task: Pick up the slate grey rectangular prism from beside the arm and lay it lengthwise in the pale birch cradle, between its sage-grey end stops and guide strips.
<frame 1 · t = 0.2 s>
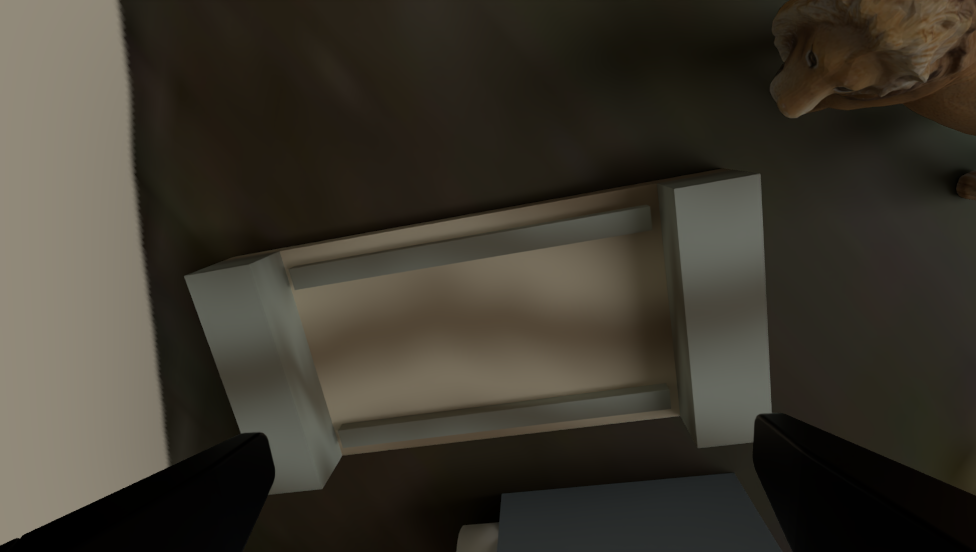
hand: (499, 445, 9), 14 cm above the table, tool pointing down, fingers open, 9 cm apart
cradle: (484, 326, 23), on the table
lion figurine: (859, 107, 20), on the table
slate grey rectangular prism: (618, 516, 26), on the table
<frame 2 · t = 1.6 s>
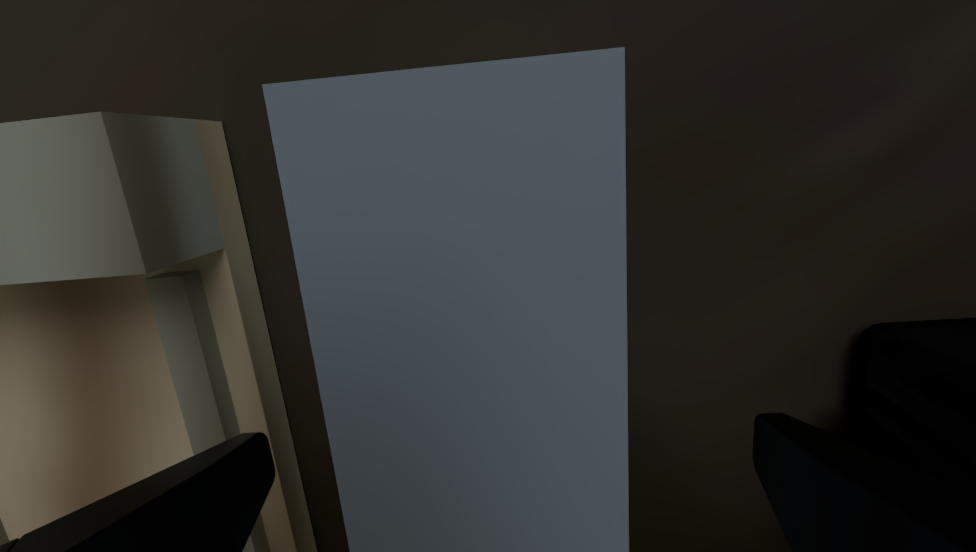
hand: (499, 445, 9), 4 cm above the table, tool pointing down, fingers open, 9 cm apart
cradle: (144, 514, 15), on the table
slate grey rectangular prism: (501, 339, 13), on the table
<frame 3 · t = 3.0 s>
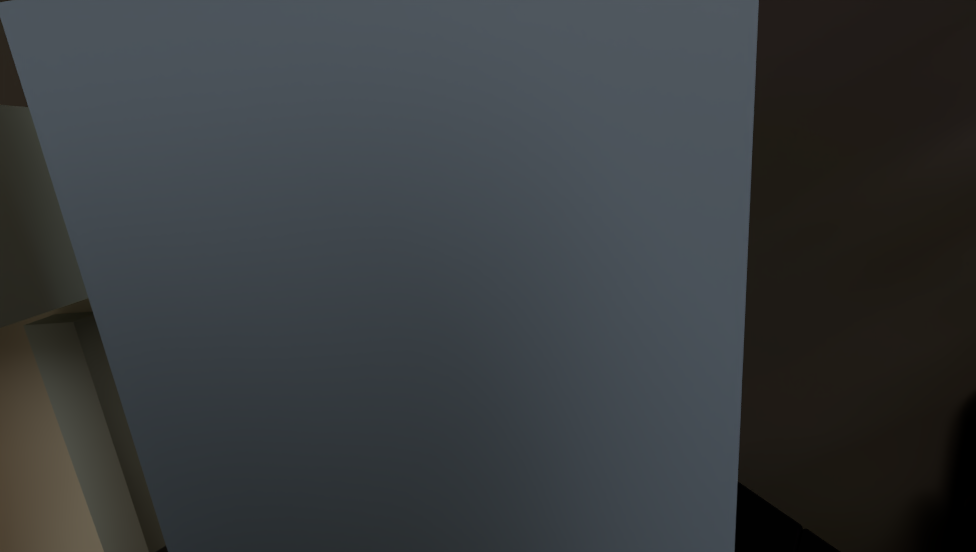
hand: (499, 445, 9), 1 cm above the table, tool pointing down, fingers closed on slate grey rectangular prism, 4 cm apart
slate grey rectangular prism: (501, 394, 10), on the table, touching gripper
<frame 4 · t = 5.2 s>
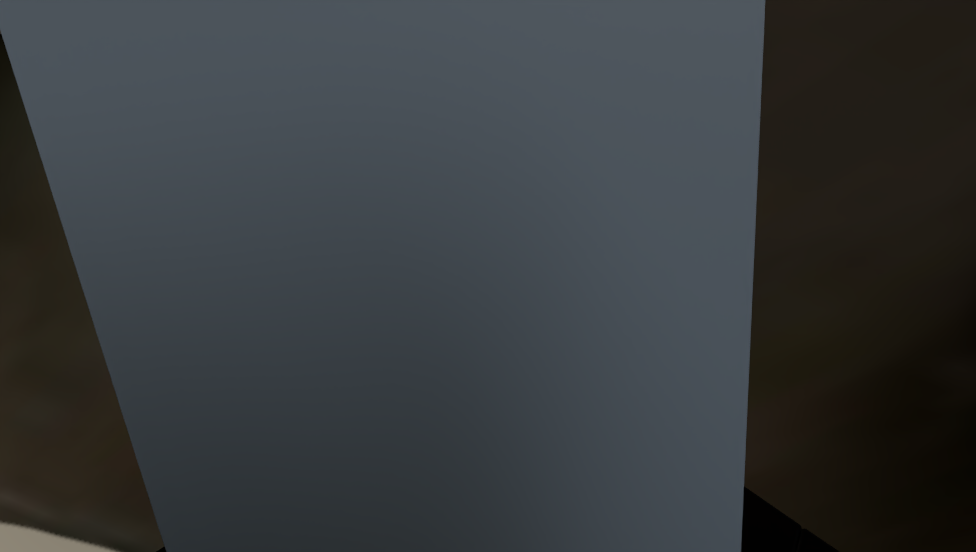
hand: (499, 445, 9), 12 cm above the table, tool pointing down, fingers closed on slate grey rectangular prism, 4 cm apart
slate grey rectangular prism: (503, 393, 10), point 10 cm above the table, touching gripper
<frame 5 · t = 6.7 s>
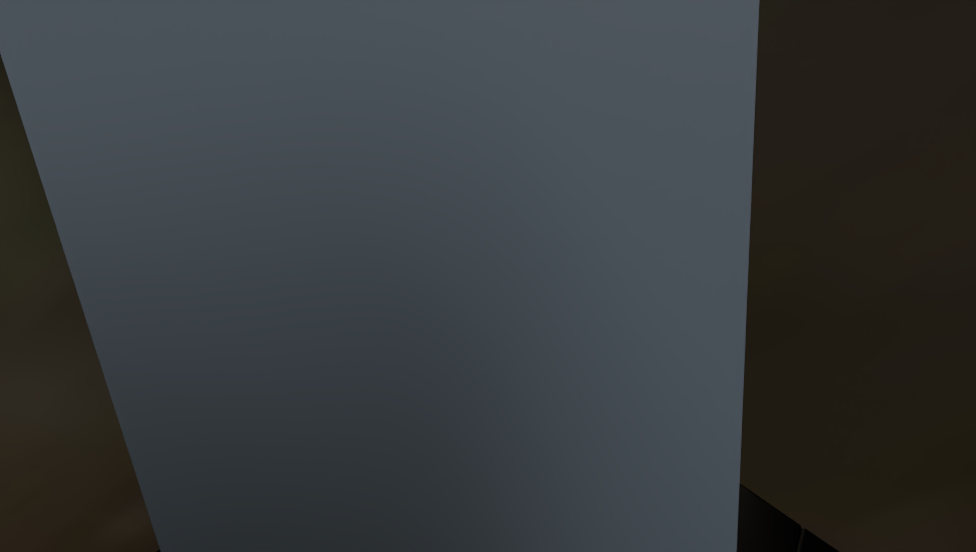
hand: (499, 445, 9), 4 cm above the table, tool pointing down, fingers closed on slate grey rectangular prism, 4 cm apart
slate grey rectangular prism: (501, 393, 10), point 3 cm above the table, touching gripper
when the fingers open (4 cm above the table, at t = 7.6 s): slate grey rectangular prism drops 1 cm, resting on cradle.
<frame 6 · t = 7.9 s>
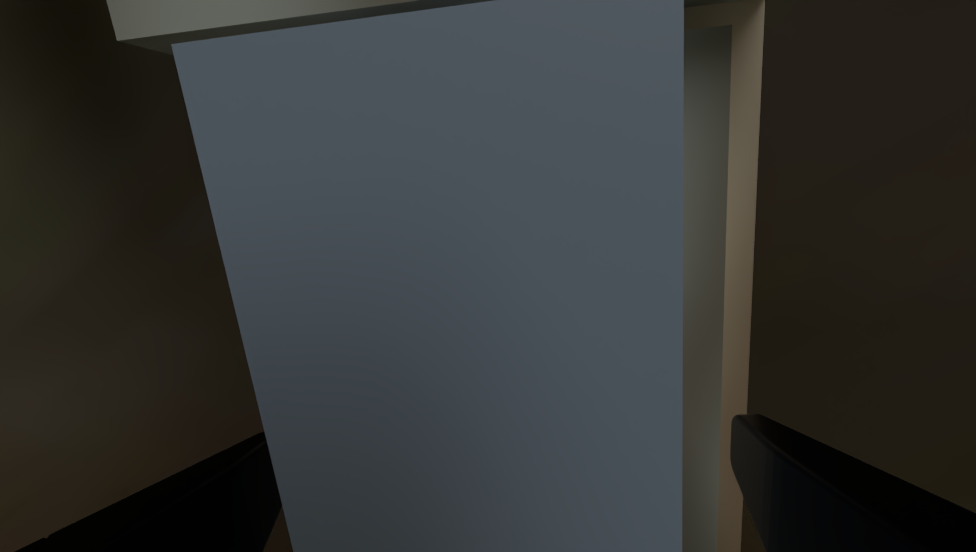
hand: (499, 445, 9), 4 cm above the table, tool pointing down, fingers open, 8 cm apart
cradle: (510, 395, 13), on the table
slate grey rectangular prism: (507, 362, 11), point 1 cm above the table, touching cradle
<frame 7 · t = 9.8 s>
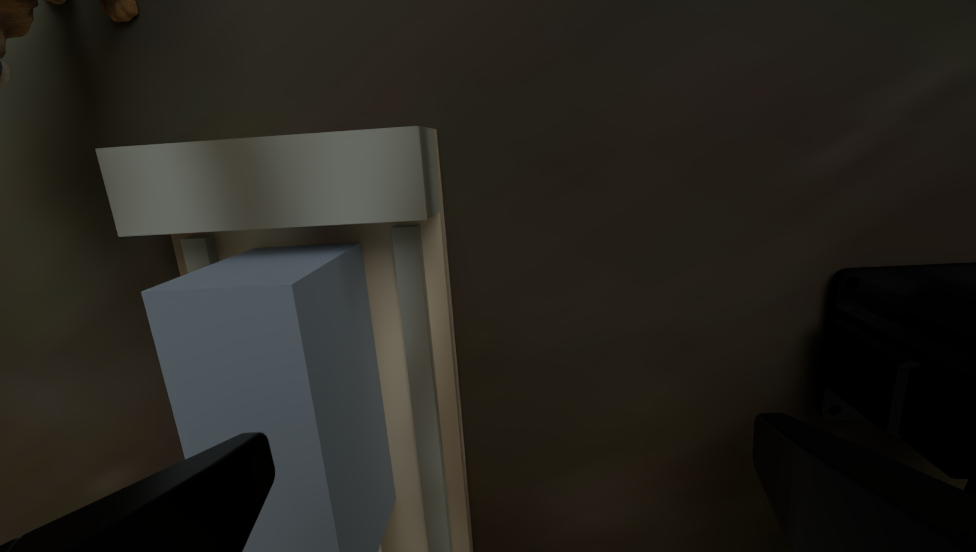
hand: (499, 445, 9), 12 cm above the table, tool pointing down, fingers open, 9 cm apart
cradle: (340, 399, 22), on the table
slate grey rectangular prism: (329, 381, 21), point 1 cm above the table, touching cradle
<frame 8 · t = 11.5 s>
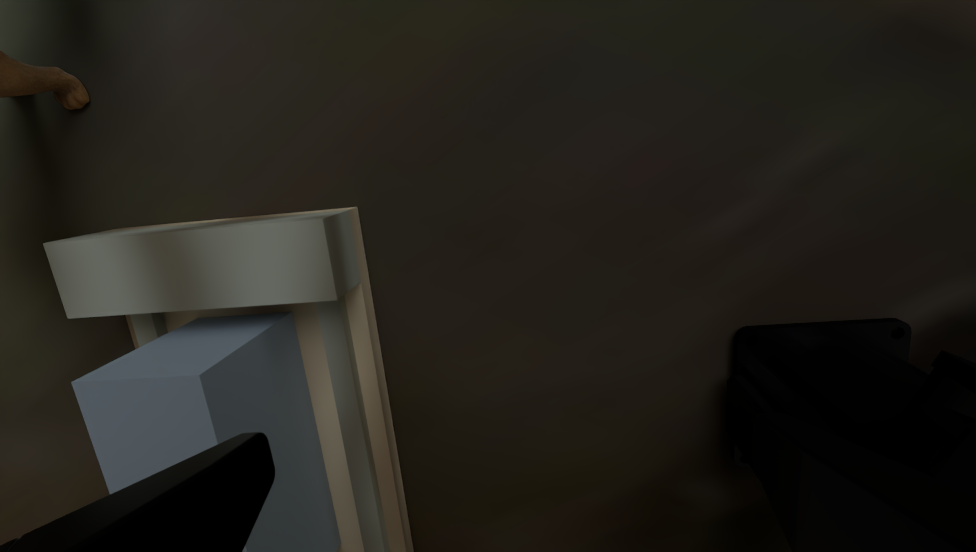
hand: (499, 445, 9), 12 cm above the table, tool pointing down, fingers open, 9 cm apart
cradle: (288, 450, 24), on the table
lion figurine: (75, 27, 20), on the table
slate grey rectangular prism: (273, 436, 22), point 1 cm above the table, touching cradle
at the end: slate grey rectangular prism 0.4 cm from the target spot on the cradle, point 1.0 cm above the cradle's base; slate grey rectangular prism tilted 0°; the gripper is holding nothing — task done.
